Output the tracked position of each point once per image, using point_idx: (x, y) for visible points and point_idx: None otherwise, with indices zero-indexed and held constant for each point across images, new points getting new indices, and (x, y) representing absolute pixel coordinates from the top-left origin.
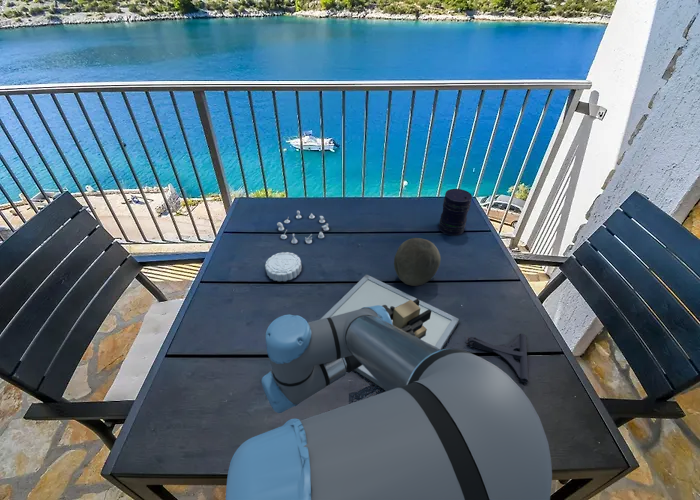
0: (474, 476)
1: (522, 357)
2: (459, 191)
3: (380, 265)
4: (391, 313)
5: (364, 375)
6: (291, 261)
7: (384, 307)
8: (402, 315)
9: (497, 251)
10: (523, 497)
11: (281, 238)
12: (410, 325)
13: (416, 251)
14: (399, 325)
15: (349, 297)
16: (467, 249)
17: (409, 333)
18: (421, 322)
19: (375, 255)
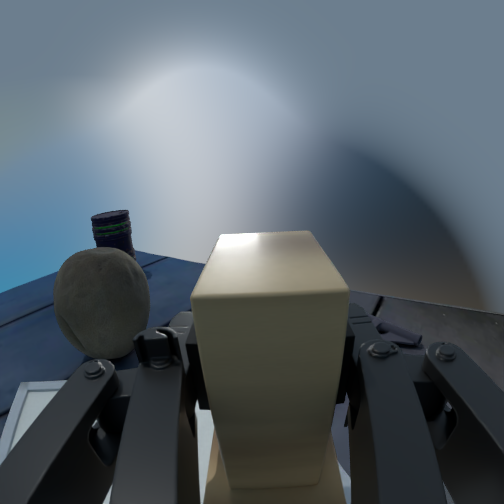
0: None
1: (382, 323)
2: (107, 213)
3: (42, 358)
4: (177, 379)
5: None
6: None
7: (93, 376)
8: (317, 284)
9: (196, 266)
10: None
11: None
12: (353, 349)
13: (92, 262)
14: (303, 409)
15: (9, 448)
16: (159, 279)
17: (437, 366)
18: (353, 306)
19: (26, 348)
